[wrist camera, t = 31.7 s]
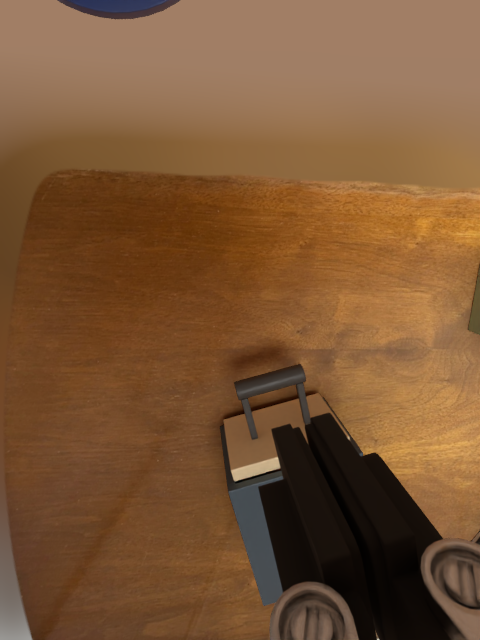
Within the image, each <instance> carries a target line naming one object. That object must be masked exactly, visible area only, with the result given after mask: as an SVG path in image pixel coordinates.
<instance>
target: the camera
mask: <svg viewBox="0 0 480 640" xmlns="http://www.w3.org/2000/svg"><path fill="white" fill-rule="evenodd" d="M472 542H474V543H477V544H479V545H480V532H479V533H478V534H477V535H476V537H475V538H474V539H473V540H472Z"/></svg>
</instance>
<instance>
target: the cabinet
mask: <svg viewBox="0 0 480 640" xmlns="http://www.w3.org/2000/svg"><path fill="white" fill-rule="evenodd" d="M322 398H323V400H324V401H325V402H326V404H327V405H328V407H329V408H330V410H331V411H332V412H333V414H334V415H335V417H336V418H337V420H338V421H339V422H340V424H341V425H342V427H343V428H344V430H345V431H346V432H347V434H348V435H349V437H350V442H351V443H352V445H353V446H354V448H355V449H356V450H357V452H358V453H359V455H360V456H363V452H362V451H361V450H360V448H359V447H358V445H357V444H356V442H355V441H354V439H353V438H352V437H351V435H350V434H349V432H348V431H347V430H346V428H345V427H344V425H343V424H342V423H341V421H340V420H339V418H338V417H337V415H336V414H335V413H334V411H333V410H332V408H331V407H330V406H329V404H328V403H327V401H326V400H325V399H324V397H322ZM220 431H221V439H222V447H223V455H224V463H225V471H226V479H227V486H228V493H229V496H230V499H231V503H232V506H233V509H234V512H235V515H236V519H237V522H238V525H239V528H240V532H241V535H242V538H243V541H244V544H245V548H246V551H247V554H248V557H249V561H250V564H251V567H252V570H253V573H254V577H255V580H256V583H257V586H258V590H259V593H260V596H261V599H262V602H263V605H264V606H265V605H268V604H272V603H275V602H276V601H277V600H278V599H279V597H280V596H281V595H282V593H283V590H282V586H281V582H280V578H279V574H278V569H277V565H276V561H275V557H274V553H273V548H272V544H271V540H270V536H269V531H268V527H267V523H266V519H265V515H264V510H263V506H262V502H261V498H260V493H259V489H258V486H262V485H265V484H269V483H272V482H276V481H279V480H282V479H283V476H282V472H281V471H278V472H274V473H271V474H267V475H264V476H260V477H257V478H254V479H250V480H247V481H243V480H238V481H234V480H233V476H232V473H231V469H230V462H229V455H228V448H227V441H226V435H225V428H224V425H223V426H220Z"/></svg>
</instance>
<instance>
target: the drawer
mask: <svg viewBox="0 0 480 640" xmlns="http://www.w3.org/2000/svg"><path fill="white" fill-rule="evenodd" d="M305 381H306V377H305V373H304V370H303V367H302V365H301V364H298V365H294V366H290V367H287V368H283V369H280V370H276V371H272V372H269V373H265V374H261V375H258V376H254V377H251V378H247V379H243V380H240V381H236V382H234V384H235V388H236V392H237V396H238V399H239V400H241V401H242V405H243V409H244V412H245V414H242V415H238V416H235V417H231V418H228V419H224V420H223V421H224V428H225V435H226V441H227V448H228V455H229V462H230V469H231V473H232V476H233V480H234V481H238V480H243V481H247V480H250V479H254V478H257V477H260V476H264V475H267V474H266V472H269V471H273V470H276V469H280V464H279V460H278V456H277V452H276V448H275V444H274V440H273V436H272V431H271V429H272V428H276V427H280V426H283V425H287V424H291V426H292V428H296V427H300V429H301V431H302V433H303V435H304V437H305V439H306V441H307V436H306V431H305V425H307V424H310V423H311V422H310V418H311V417H315V416H318V415H322V414H325V413H331V414H332V416H333V417H334V419H335V420H336V421H337V423H338V424H339V426H340V427H341V429H342V430H343V432H344V433H345V434H346V436H347V437H348V439H349V440H350V437H349V435H348V434H347V432H346V431H345V430H344V428H343V427H342V425H341V424H340V422H339V421H338V420H337V418H336V417H335V415H334V414H333V412H332V411H331V410H330V408H329V407H328V405H327V404H326V402H325V401H324V400H323V398H322V397H321V395H320V394H319V393H316V394H313V395H309V396H306V394H305V390H304V385H303V382H305ZM295 384H296V389H297V393H298V398H299V399H295V400H292V401H288V402H284V403H281V404H277V405H274V406H270V407H267V408H263V409H260V410H256V411H252V412H251V408H250V404H249V401H248V398H249V397H252V396H256V395H260V394H263V393H267V392H270V391H274V390H278V389H281V388H285V387H288V386H292V385H295ZM307 443H308V441H307Z"/></svg>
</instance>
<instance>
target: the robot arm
mask: <svg viewBox="0 0 480 640" xmlns="http://www.w3.org/2000/svg"><path fill="white" fill-rule="evenodd" d="M310 422H311V423H310V424H307V425H305V431H306V436H307V441H308V443H307V441H306V439H305V437H304V435H303V433H302V431H301V429H300V427H296V428H292V426H291V424H287V425H283V426H280V427H276V428H272V429H271V431H272V436H273V440H274V444H275V448H276V452H277V456H278V460H279V464H280V468H281V472H282V476H283V479H282V480H279V481H276V482H272V483H269V484H265V485H262V486H258V489H259V493H260V498H261V502H262V506H263V510H264V515H265V519H266V523H267V527H268V531H269V536H270V540H271V544H272V548H273V553H274V557H275V561H276V565H277V569H278V574H279V578H280V582H281V586H282V590H283V593H282V595H281V596H280V597H279V599H278V600H277V601H276V603H275V605H274V608H273V611H272V613H271V619H270V640H377V638H376V633H377V635H378V637H379V639H380V640H480V545H479V544H477V543H474V542H472V541H468V540H463V539H459V538H445V539H443V538H442V537H441V535H440V534H439V533H438V531H437V530H436V529H435V527H434V526H433V525H432V524H431V522H430V521H429V520H428V518H427V517H426V516H425V514H424V513H423V512H422V511H421V509H420V508H419V507H418V505H417V504H416V503H415V501H414V500H413V499H412V498H411V496H410V495H409V494H408V492H407V491H406V490H405V488H404V487H403V486H402V485H401V483H400V482H399V481H398V479H397V478H396V477H395V475H394V474H393V473H392V471H391V470H390V469H389V468H388V466H387V465H386V464H385V462H384V461H383V460H382V458H381V457H380V456H379V455H378V454H376V453H371V454H368V455H365V456H360V455H359V453H358V452H357V450H356V449H355V448H354V446H353V445H352V443H351V442H350V440H349V439H348V437H347V436H346V434H345V433H344V432H343V430H342V429H341V427H340V426H339V424H338V423H337V421H336V420H335V419H334V417H333V416H332V414H331V413H325V414H322V415H318V416H315V417H311V418H310ZM375 630H376V632H375Z"/></svg>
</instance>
